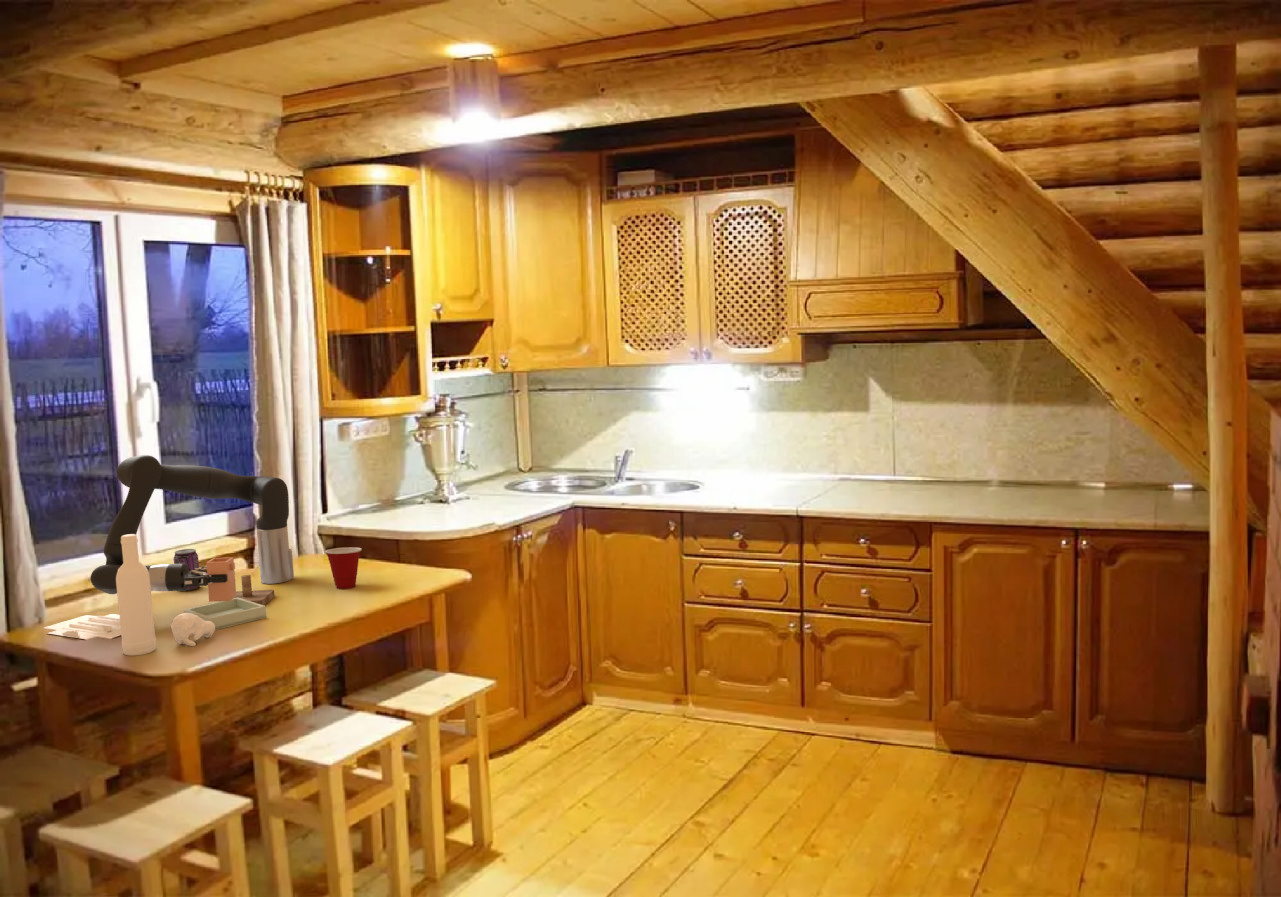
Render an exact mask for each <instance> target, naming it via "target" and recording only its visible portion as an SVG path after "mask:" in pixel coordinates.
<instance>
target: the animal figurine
mask: <svg viewBox="0 0 1281 897" xmlns="http://www.w3.org/2000/svg"><path fill="white" fill-rule="evenodd" d="M170 630H171V631H172V636H173V637H174V639H175V642H176V643H178V644H179V645H183V644H185V645H187V646H188V647H195V646H196V645H197V644H196V642H195V641H197V640H199V639H200V638H201V637H205V638H206V639H207V638H212V637H213V634H214V632H215V631H216V630H215V625H214V623H213V622H211V621H204V620H203V619H202V618H199V616H197V615H194V614H192V613H184V612H183V613H180V614H178V615H176V616H175V617H173V620H172V622H171V626H170ZM189 636H193V639H194V640H195V641H194V640H192V639H189Z"/></svg>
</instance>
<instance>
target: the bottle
mask: <svg viewBox="0 0 1281 897" xmlns="http://www.w3.org/2000/svg"><path fill="white" fill-rule="evenodd" d="M138 541H139V540H138V536H137V534H136V535H135V534H128V535H123V536H122V537H121V544H122V553H123V564H122V566H121V567H120V568H119V569H118V572H117V576H116V586H117V594H116V596H117V604H118V615H119V616H120V626H121V635H120V636H121V648H122V654H123V655H125V656H129V657H130V656H134V657H135V656H143V655H147V654H149V653H152V652H154V651H156V650H157V637H156V633H155V632H156V631H155V621H154V619H155V618H154V612H153V600H152V591H151V587H150V577H149V572H148V570H147V568H146V566H147V565H145V564H143V563H142V562H140V560H139V559H140V556H139V546H138Z"/></svg>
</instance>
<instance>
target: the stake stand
mask: <svg viewBox="0 0 1281 897" xmlns="http://www.w3.org/2000/svg"><path fill="white" fill-rule="evenodd" d="M240 576H241V577H240V578H241V579H240V580H241V589H242V590H241V591H240V590H239V591H237V590H236V597H234V598H237V597H238V598H242V599H245V600H248V601H251V602H254V603H257V604H261V605H264V606H266V605H267V604H268V603H269V602H270V601H271V600H272V599H273V598H274V597H275V596H276V595H275V590H274V589H263V590H262V589H261V590H252V589H253V588H252V587H253V586H252V576H251V574H243V575H240Z"/></svg>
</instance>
